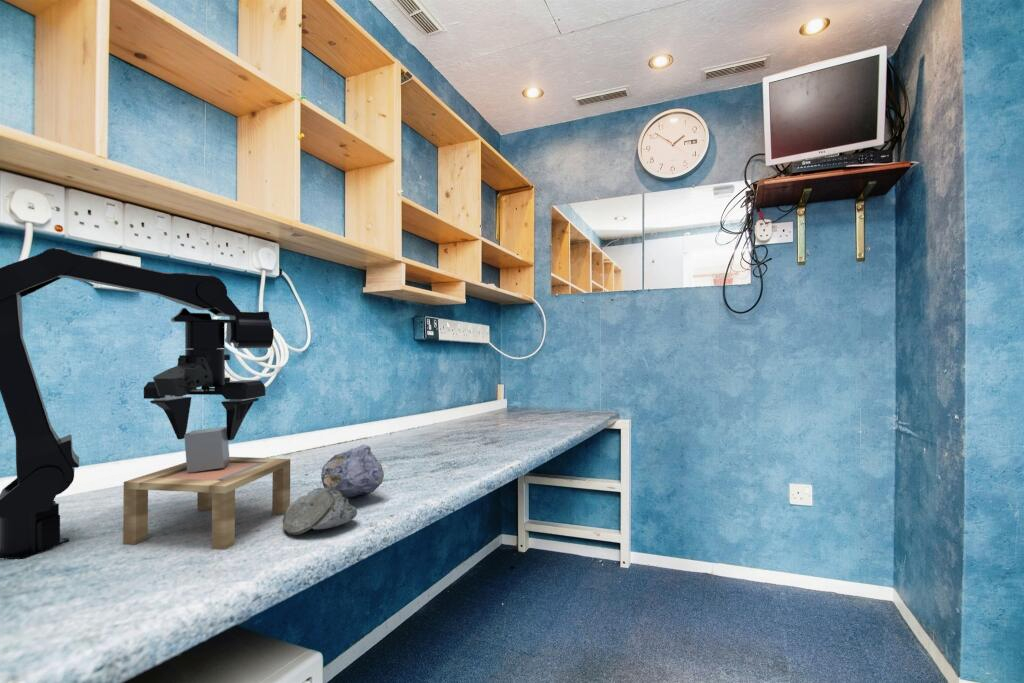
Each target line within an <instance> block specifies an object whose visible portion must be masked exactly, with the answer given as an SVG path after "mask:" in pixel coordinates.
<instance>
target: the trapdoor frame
mask: <svg viewBox="0 0 1024 683" xmlns="http://www.w3.org/2000/svg"><path fill="white" fill-rule="evenodd" d="M229 459H230V462H229V463H264V464H262V465H259V466H257V467H254V468H252V469H249V470H247V471H244V472H242V473H239V474H237V475H235V476H232V477H230V478H227V479H225V480H222V481H219V480H196V479H172V478H165V477H168V476H171V475H174V474H177V473H180V472H183V471H186V470H187V464H186V461H185V462H183V463H180V464H177V465H176V464H175V465H172V466H170V467H167V468H164V469H163V468H162V469H161V470H160V469H159V470H157V471H153V472H151V473H148V474H144V475H142V476H138V477H134V478H132V479H127V480H126V481H124V482H123V508H122V509H123V511H122V512H123V516H122V518H123V520H122V523H123V525H122V531H123V532H122V533H123V535H122V537H123V538H122V540H123V541H122V544H123V545H139V543H142V542H143V541H146V540H149V539H148V537H149V536H148V534H149V527H148V526H149V523H148V522H149V491H160V492H161V491H166V492H167V491H168V492H183V493H184V492H186V493H187V492H189V493H197V498H196V499H197V501H196V502H197V505H196V506H197V508H196V509H197V511H205V512H206V511H210V510H211V549H212V550H224V551H225V550H227V549H228V548H230V547H232V546H234V545H235V542H236V541H235V540H236V539H235V537H236V536H235V535H236V534H235V533H236V531H235V530H236V529H235V528H236V527H235V526H236V522H235V521H236V519H235V518H236V489H238V488H240V487H243V486H245V485H248V484H250V483H253V482H254V481H257V480H259V479H261V478H263V477H265V476H268V475H271V474H272V488H271V489H272V491H271V492H272V496H271V497H272V499H271V500H272V506H271V507H272V509H271V510H272V512H271V514H272V515H284V514H285V512H286V510H287V509H288V507H289V506H290V505H291V458H273V457H272V458H271V457H248V456H247V457H246V456H245V457H244V456H243V457H242V456H229Z"/></svg>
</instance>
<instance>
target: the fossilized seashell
mask: <svg viewBox="0 0 1024 683" xmlns="http://www.w3.org/2000/svg"><path fill="white" fill-rule="evenodd" d="M357 515H358V511H357V508H356V507H355V506H353V505H351V504H350V503H349V499H348V498H345V497H344V495H342V494H341V492H339V491H338V490H336V489H334V488H331V487H328V488H324V487H321V486H320V487H316V488H314V489H312V490H310V491H309V492H308V493H307V494H306V495H302V496H300V497H298V498H297V499H296V500H294V501H293V502H290V506H289V507H288V509H287V510H286V512H285V514H283V517H282V528H283V530H285V531H286V534H287V533H288V534H289V535H293V536H297V535H302V534H303V533H306V532H308V531H309V530H311V529H312V530H328V529H332V528H336V527H339V526H342V525H344V524H345V523H348V522H350V521H351V520H353V519H355V518H356V517H357Z"/></svg>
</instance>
